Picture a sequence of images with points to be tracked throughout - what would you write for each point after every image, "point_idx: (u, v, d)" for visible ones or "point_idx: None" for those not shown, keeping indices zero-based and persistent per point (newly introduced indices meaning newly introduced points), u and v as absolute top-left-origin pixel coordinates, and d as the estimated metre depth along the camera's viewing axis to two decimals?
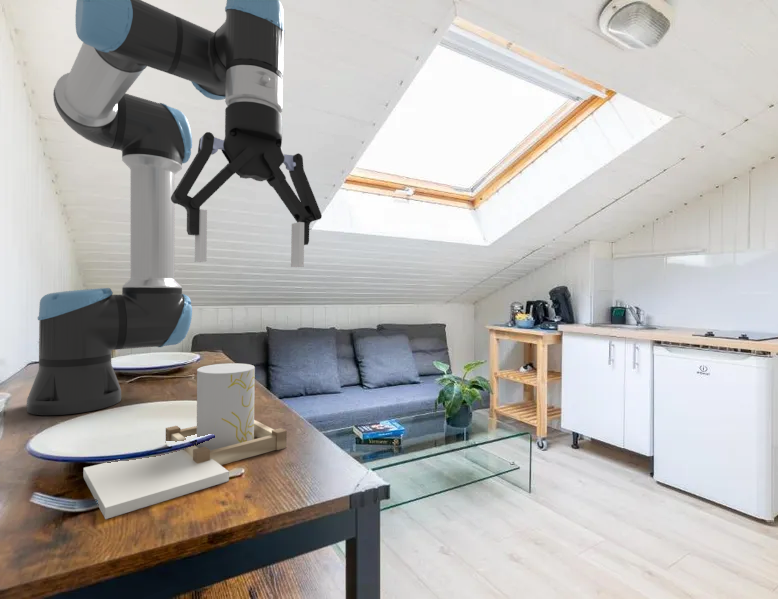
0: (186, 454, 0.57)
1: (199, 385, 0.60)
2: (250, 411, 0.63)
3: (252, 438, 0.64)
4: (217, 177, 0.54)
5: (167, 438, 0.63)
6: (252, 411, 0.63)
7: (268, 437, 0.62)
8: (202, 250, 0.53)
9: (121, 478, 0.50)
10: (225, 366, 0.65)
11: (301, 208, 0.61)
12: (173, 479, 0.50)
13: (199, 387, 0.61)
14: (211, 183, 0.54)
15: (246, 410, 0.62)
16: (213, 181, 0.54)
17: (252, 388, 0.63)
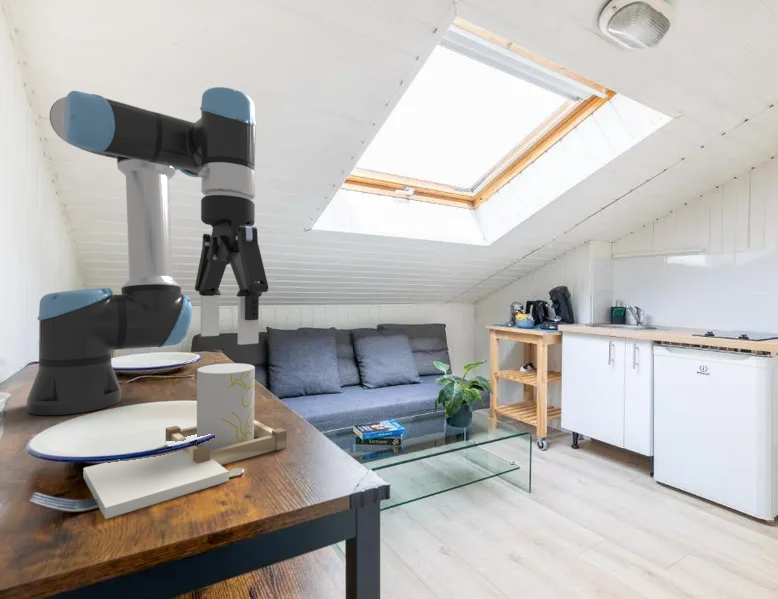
0: (186, 454, 0.57)
1: (199, 385, 0.60)
2: (250, 411, 0.63)
3: (252, 438, 0.64)
4: (206, 268, 0.66)
5: (167, 438, 0.63)
6: (252, 411, 0.63)
7: (268, 437, 0.62)
8: (201, 327, 0.67)
9: (121, 478, 0.50)
10: (225, 366, 0.65)
11: (240, 282, 0.57)
12: (173, 479, 0.50)
13: (199, 386, 0.61)
14: (205, 273, 0.66)
15: (246, 410, 0.62)
16: (205, 272, 0.66)
17: (252, 388, 0.63)
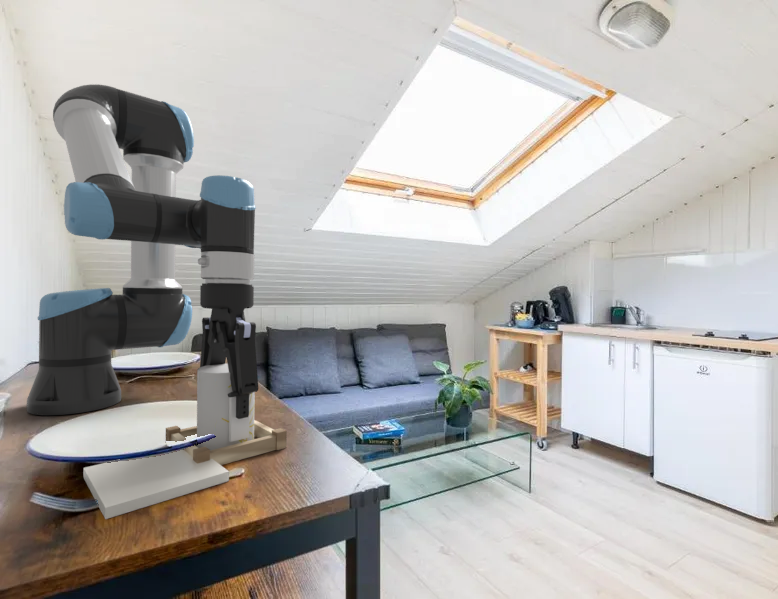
0: (186, 454, 0.57)
1: (199, 385, 0.60)
2: (250, 411, 0.63)
3: (252, 438, 0.64)
4: (208, 354, 0.65)
5: (167, 438, 0.63)
6: (252, 411, 0.63)
7: (268, 437, 0.62)
8: None
9: (121, 478, 0.50)
10: (225, 366, 0.65)
11: (232, 380, 0.59)
12: (173, 479, 0.50)
13: (199, 386, 0.61)
14: (207, 360, 0.66)
15: None
16: (208, 358, 0.66)
17: None
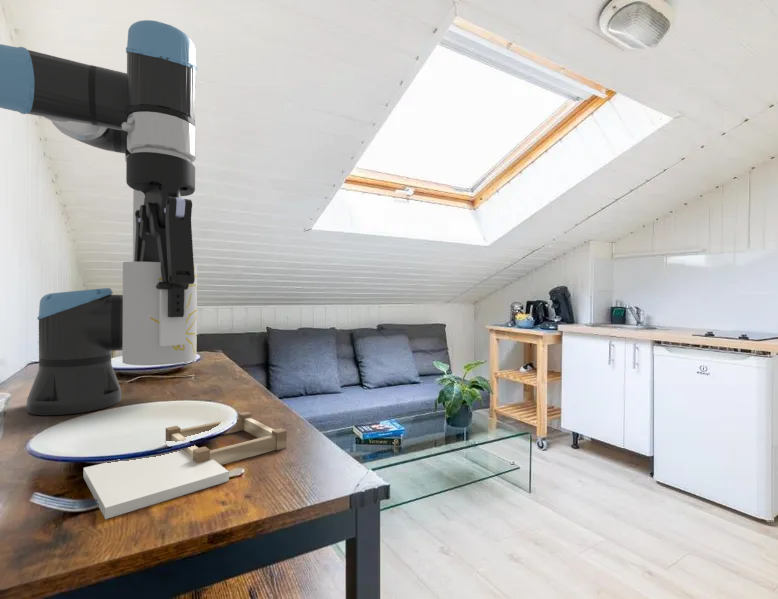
0: (186, 454, 0.57)
1: (124, 279, 0.49)
2: (189, 315, 0.52)
3: (193, 349, 0.53)
4: (141, 250, 0.54)
5: (167, 438, 0.63)
6: (192, 316, 0.52)
7: (268, 437, 0.62)
8: None
9: (121, 478, 0.50)
10: None
11: (163, 270, 0.48)
12: (173, 479, 0.50)
13: (123, 281, 0.49)
14: (140, 259, 0.54)
15: None
16: (141, 256, 0.54)
17: (192, 288, 0.52)
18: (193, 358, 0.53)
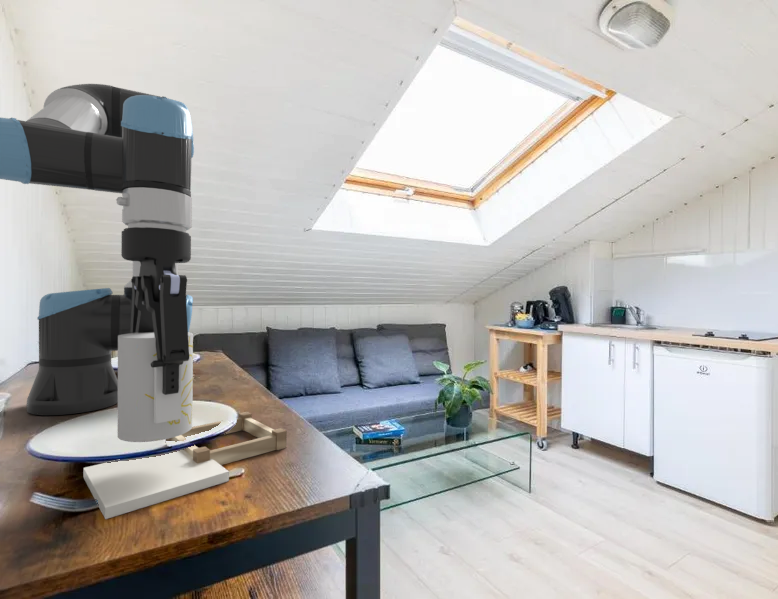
0: (186, 454, 0.57)
1: (119, 354, 0.49)
2: (184, 387, 0.51)
3: (188, 420, 0.52)
4: (137, 319, 0.54)
5: None
6: (188, 387, 0.52)
7: (268, 437, 0.62)
8: None
9: (121, 478, 0.50)
10: None
11: (158, 347, 0.48)
12: (173, 479, 0.50)
13: (118, 355, 0.49)
14: (136, 327, 0.54)
15: None
16: (136, 324, 0.54)
17: None
18: (189, 429, 0.52)
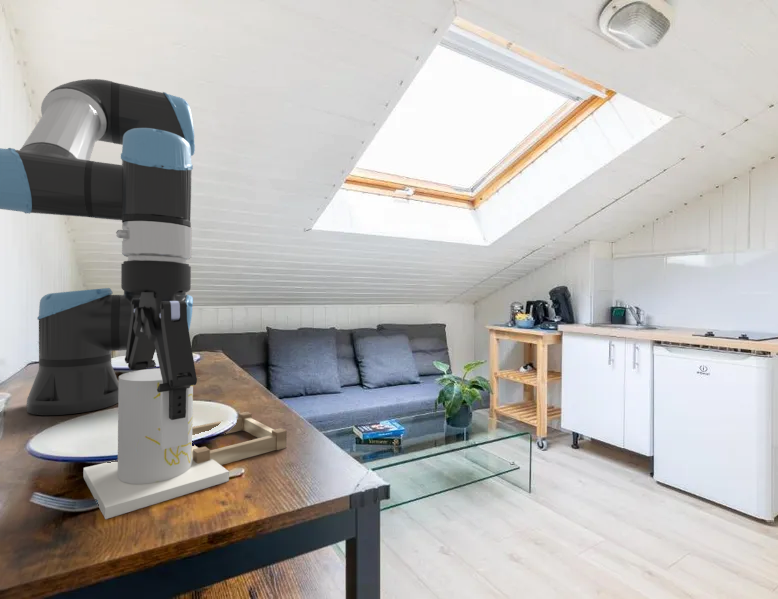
0: None
1: (119, 395, 0.49)
2: None
3: (188, 459, 0.52)
4: (134, 340, 0.55)
5: None
6: (188, 426, 0.52)
7: (268, 437, 0.62)
8: None
9: None
10: (157, 371, 0.54)
11: (163, 372, 0.46)
12: (173, 479, 0.50)
13: (119, 397, 0.49)
14: (133, 346, 0.55)
15: None
16: (133, 344, 0.55)
17: (188, 399, 0.52)
18: (188, 468, 0.53)
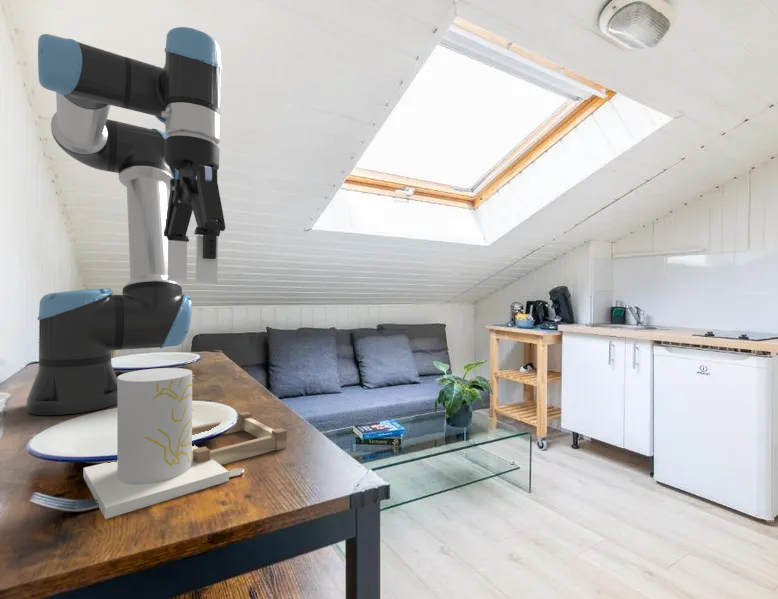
0: None
1: (119, 396, 0.49)
2: (184, 427, 0.51)
3: (188, 459, 0.52)
4: (173, 212, 0.67)
5: None
6: (187, 426, 0.52)
7: (268, 437, 0.62)
8: (168, 271, 0.68)
9: None
10: (156, 372, 0.53)
11: (198, 221, 0.58)
12: (173, 479, 0.50)
13: (118, 397, 0.49)
14: (171, 218, 0.67)
15: (178, 426, 0.51)
16: (172, 216, 0.67)
17: (187, 398, 0.52)
18: (188, 468, 0.53)
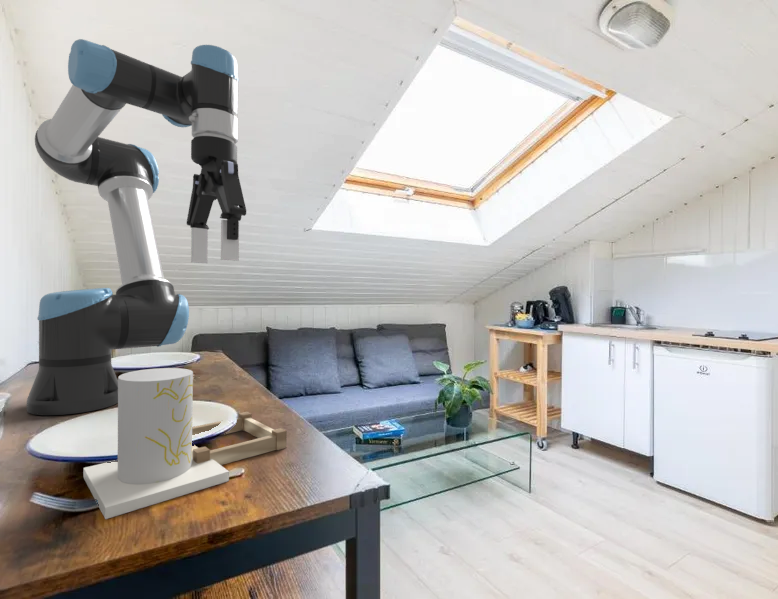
0: None
1: (119, 396, 0.49)
2: (184, 427, 0.51)
3: (188, 459, 0.52)
4: (196, 203, 0.77)
5: None
6: (188, 426, 0.52)
7: (268, 437, 0.62)
8: (191, 255, 0.78)
9: None
10: (157, 372, 0.53)
11: (223, 207, 0.69)
12: (173, 479, 0.50)
13: (119, 397, 0.49)
14: (195, 208, 0.78)
15: (179, 426, 0.51)
16: (195, 206, 0.77)
17: (188, 399, 0.52)
18: (188, 468, 0.53)
